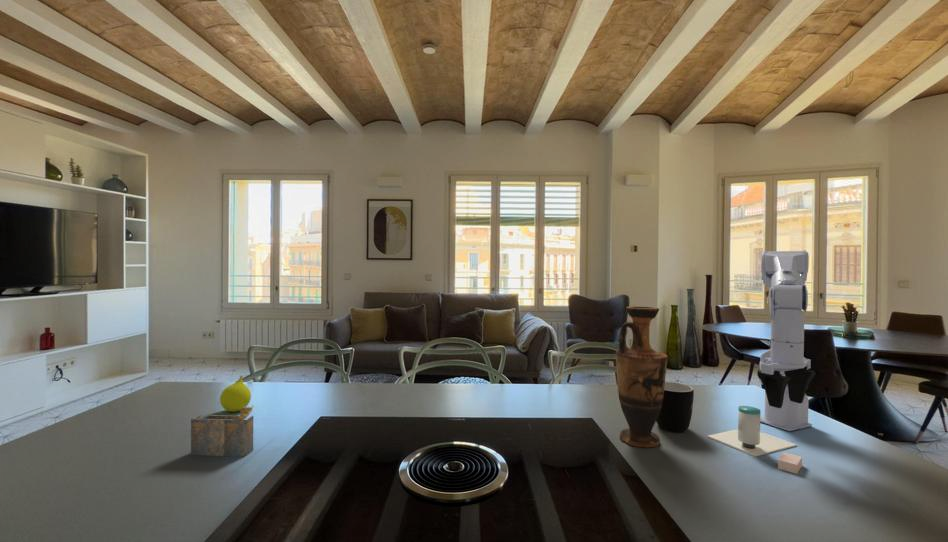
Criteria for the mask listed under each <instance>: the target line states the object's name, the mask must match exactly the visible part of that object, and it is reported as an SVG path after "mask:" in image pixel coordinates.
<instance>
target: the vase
mask: <svg viewBox="0 0 948 542" xmlns="http://www.w3.org/2000/svg"><path fill="white" fill-rule="evenodd" d="M625 309H626V312H627V314H628V316H629V317H631V319H632V321H625V322H624V323H623V324H622V326H621V328H620V331H619V336H618V346H617V349H616V351H615V359H616V382H617V383H616V384H617V394H618V399H619V403H620V408H621V410H622V413H623V415H624V418H625V421H626V423H627V425H628V427H629V428H625V429H622V430H621V431H620V433H619V439H620V440H621V441H623V442H625V444H627V445H630V446H633V447H634V446H635V447H638V448H655V447H657V446H659V445H660V444H661V443H660V442H661V441H660V437H659V435H658V434H656V433H654V432H653V431H652V430H653V428H654V425H655V424H656V423H657V422H656V420H657V418H658V416H659V413H660V410H661V407H662V402H663V396H664V387H665V382H666V375H667V364H668V358H669V356H668V355H667V354H665V353H663V352H660V351H656V350H655V349H653V347H651V343H650V325H651V321H652V320H653V319H656V317H657V315H658V313H659V311H660V308H658V307H651V306H636V305H635V306H634V305H633V306H626V307H625ZM627 328H630V330H631V332H632V343H631V346H630V347H628V346H627V341H626V331H627Z"/></svg>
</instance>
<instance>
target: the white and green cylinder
mask: <svg viewBox="0 0 948 542" xmlns="http://www.w3.org/2000/svg"><path fill="white" fill-rule="evenodd" d="M737 411H738V413H737V417H738V418H737V419H738V420H737V422H738V423H737V425H738V426H737V429H738V440H739V441H741V442H742V446H743V447H745V448H749V449H755V445H759V444H760V432H761V422H760V418H761V409H760V408H757V407H754V406H750V405H739V406H738V410H737Z"/></svg>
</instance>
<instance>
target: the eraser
mask: <svg viewBox="0 0 948 542" xmlns="http://www.w3.org/2000/svg"><path fill="white" fill-rule="evenodd" d="M802 466H803V456H799V455H797V454H793V453H792V454H791V453H788V452H785V451H783V452H782V453H781V455H780V456H779V458H778V459H777V469H778V470H782V471H786V472H789V473H793V474H795V475H796V474H798V473H799V471H800V469H801V468H802Z"/></svg>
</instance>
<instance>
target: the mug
mask: <svg viewBox="0 0 948 542" xmlns="http://www.w3.org/2000/svg"><path fill="white" fill-rule="evenodd" d="M694 390H695V389H694V387H692V386H690V385H689V384H686V383H681V382H675V381H665V387H664V396H663V402H662V407H661V410H660V413H659V416H658V418H657V420H656V422H655V423H656V424H657V425H658V427H659V428H660V429H661V430H664V431H665V432H670V433H678V434H679V433H685V432H687V431H688V429H689V427H690V424H691V421H692V415H693V408H694V398H695V397H694V396H695V395H694V394H695V393H694V392H695V391H694Z"/></svg>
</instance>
